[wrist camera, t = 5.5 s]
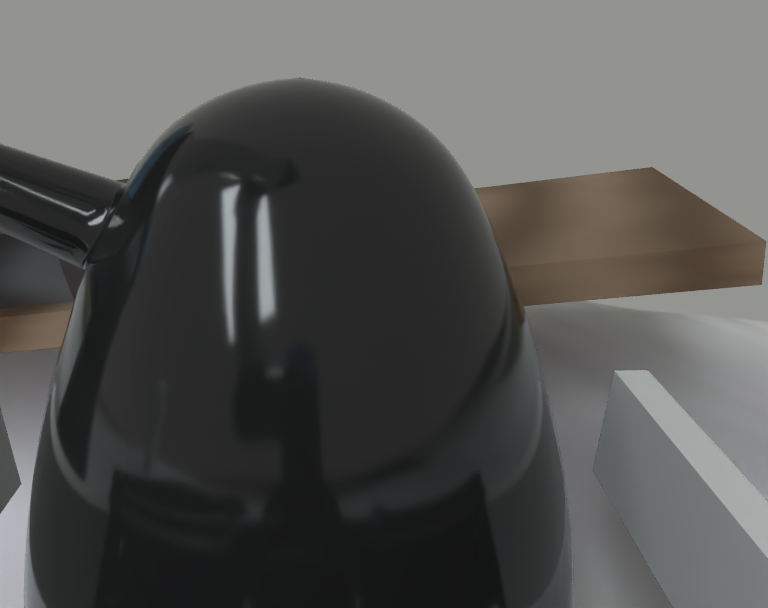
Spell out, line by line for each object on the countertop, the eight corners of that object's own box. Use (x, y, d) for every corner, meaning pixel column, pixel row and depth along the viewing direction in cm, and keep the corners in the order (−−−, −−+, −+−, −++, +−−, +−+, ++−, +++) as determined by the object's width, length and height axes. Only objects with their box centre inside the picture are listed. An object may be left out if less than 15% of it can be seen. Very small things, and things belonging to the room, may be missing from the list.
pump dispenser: (158, 581, 19) (67, 54, 13) (488, 579, 19) (558, 68, 13) (-42, 1120, 9) (-779, 113, 3) (608, 1091, 10) (1056, 155, 4)
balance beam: (-40, 356, 24) (-90, 251, 23) (113, 257, 35) (87, 181, 33) (761, 284, 20) (776, 146, 18) (651, 196, 31) (653, 104, 29)
